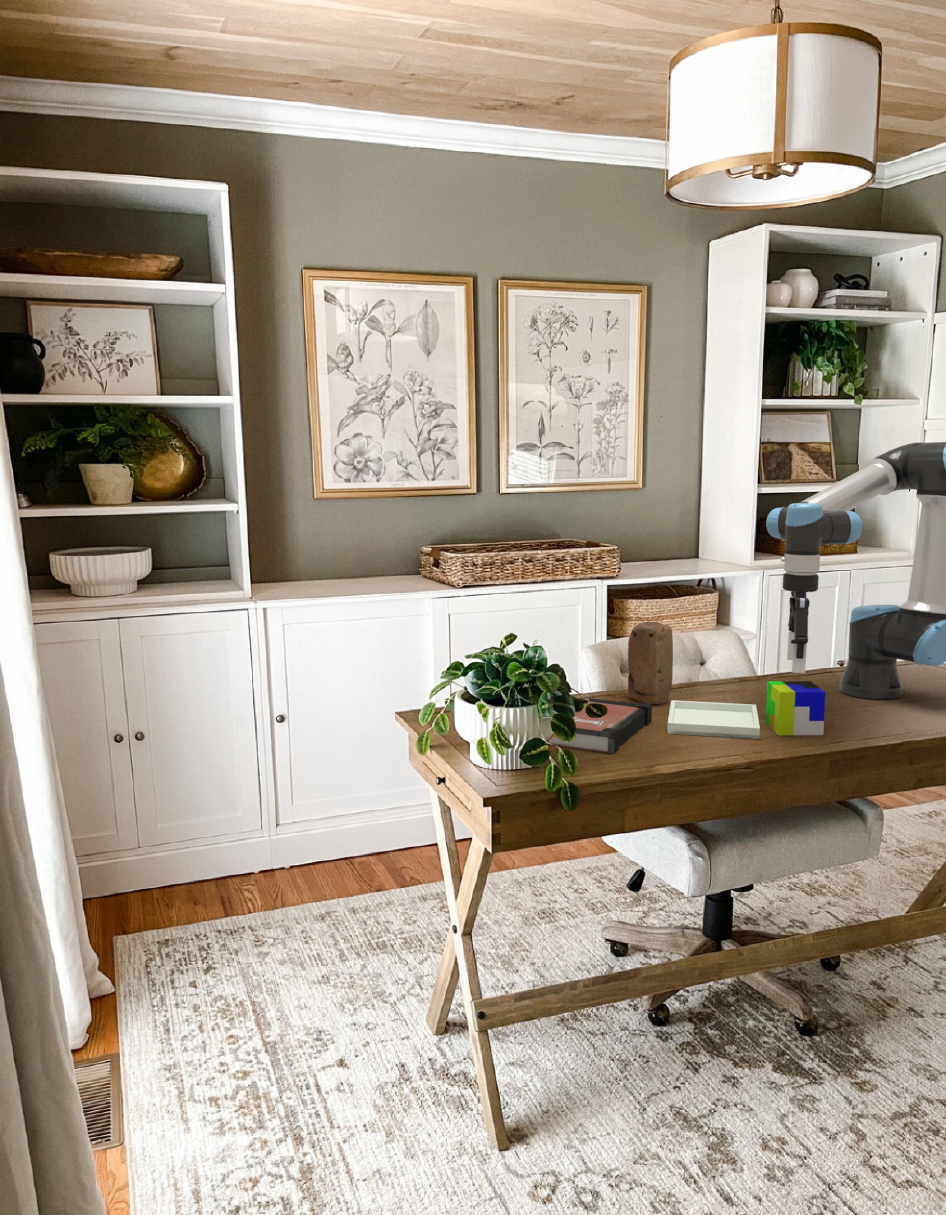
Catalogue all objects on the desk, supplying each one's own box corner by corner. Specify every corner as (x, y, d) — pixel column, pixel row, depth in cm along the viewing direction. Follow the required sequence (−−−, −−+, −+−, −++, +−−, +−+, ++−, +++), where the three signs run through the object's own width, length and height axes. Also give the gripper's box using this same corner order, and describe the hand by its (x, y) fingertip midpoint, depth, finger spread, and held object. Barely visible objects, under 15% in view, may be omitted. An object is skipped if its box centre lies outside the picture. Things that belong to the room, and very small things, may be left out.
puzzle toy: (823, 735, 212) (825, 692, 211) (778, 735, 213) (780, 692, 211) (808, 722, 222) (810, 681, 221) (765, 722, 222) (767, 681, 221)
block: (674, 701, 241) (676, 624, 238) (656, 707, 236) (658, 628, 233) (640, 694, 249) (641, 619, 246) (622, 699, 244) (623, 623, 241)
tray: (755, 714, 229) (755, 704, 228) (759, 739, 210) (759, 728, 209) (671, 710, 234) (671, 700, 233) (667, 733, 214) (667, 722, 214)
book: (582, 715, 232) (582, 695, 231) (651, 724, 224) (651, 703, 223) (538, 744, 209) (538, 723, 208) (613, 756, 201) (614, 733, 200)
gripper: (779, 566, 224) (775, 654, 228) (787, 579, 200) (782, 677, 204) (813, 567, 222) (807, 655, 226) (825, 580, 199) (819, 679, 202)
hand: (795, 666), depth 215 cm, fingers open, 13 cm apart
